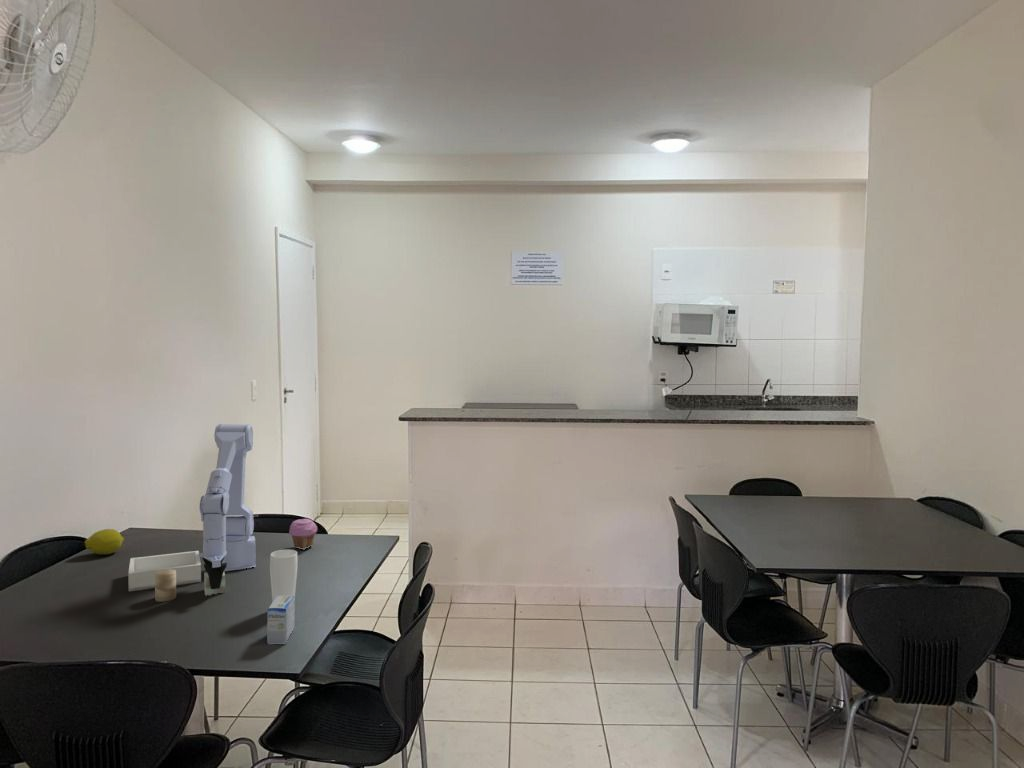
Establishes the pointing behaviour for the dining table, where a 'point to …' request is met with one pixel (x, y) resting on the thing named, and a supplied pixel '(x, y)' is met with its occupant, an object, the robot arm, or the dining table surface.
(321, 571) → the dining table surface
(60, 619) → the dining table surface
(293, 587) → the drinking glass
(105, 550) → the lemon
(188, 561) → the box
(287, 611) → the medicine box
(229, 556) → the robot arm
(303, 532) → the cupcake
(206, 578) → the sage cube
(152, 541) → the dining table surface
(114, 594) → the dining table surface
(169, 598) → the wooden cylinder
